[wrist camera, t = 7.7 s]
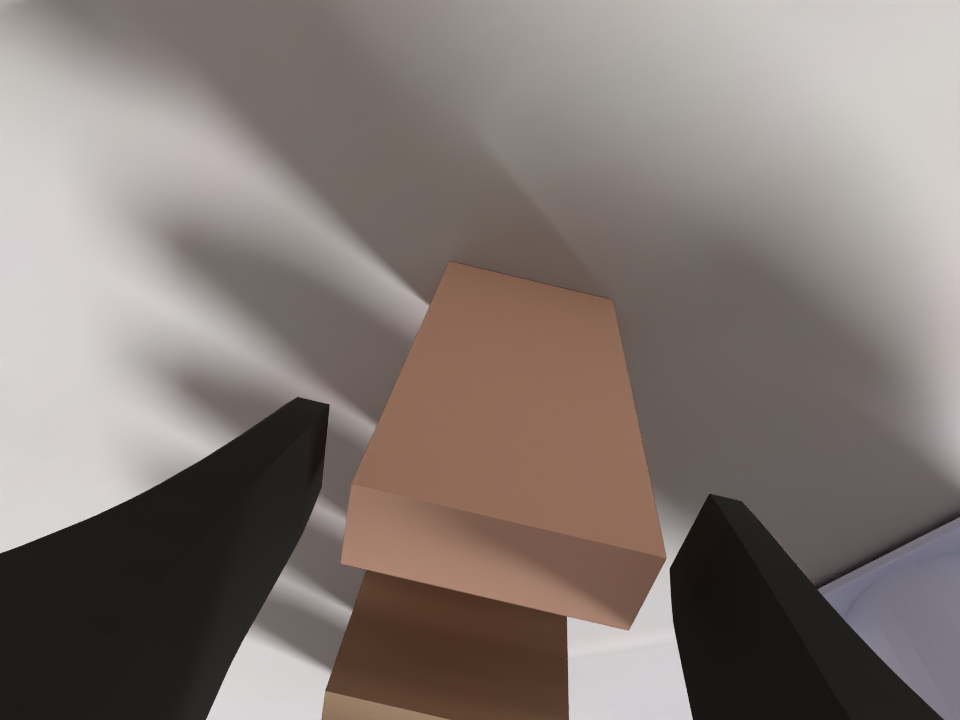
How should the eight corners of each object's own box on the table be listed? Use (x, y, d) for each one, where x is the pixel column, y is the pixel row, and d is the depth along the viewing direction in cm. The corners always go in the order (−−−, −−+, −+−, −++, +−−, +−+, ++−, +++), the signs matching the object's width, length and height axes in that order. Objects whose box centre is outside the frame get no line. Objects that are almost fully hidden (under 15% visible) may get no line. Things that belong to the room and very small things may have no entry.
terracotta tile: (594, 351, 19) (629, 630, 10) (438, 314, 19) (340, 563, 10) (613, 300, 18) (666, 558, 9) (449, 260, 18) (350, 484, 9)
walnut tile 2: (421, 410, 21) (325, 691, 12) (563, 443, 21) (569, 747, 12) (413, 451, 22) (318, 738, 13) (549, 482, 22) (546, 791, 13)
